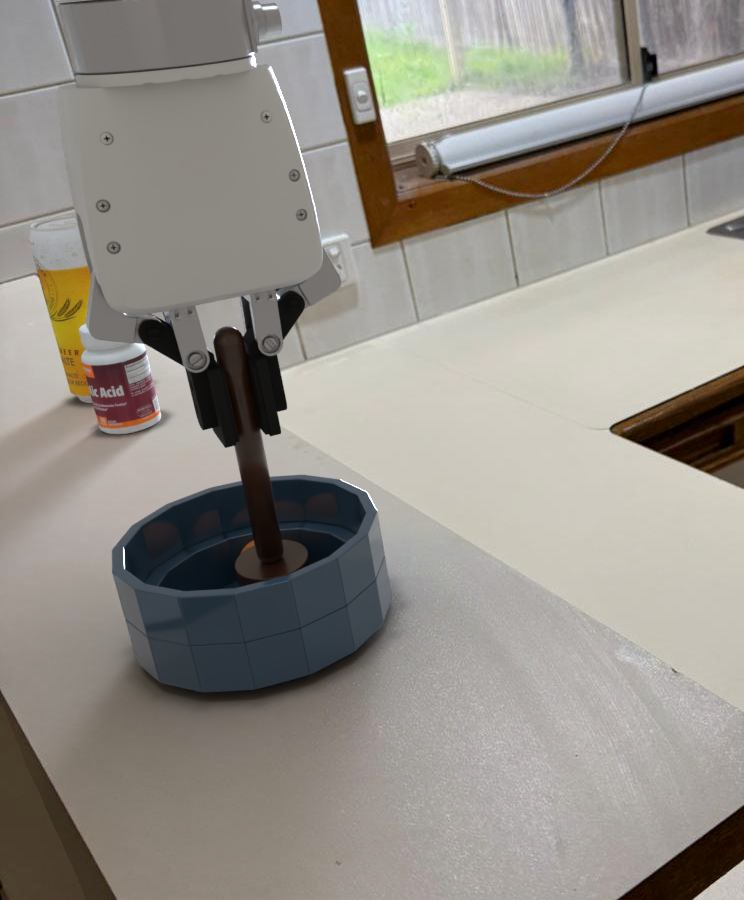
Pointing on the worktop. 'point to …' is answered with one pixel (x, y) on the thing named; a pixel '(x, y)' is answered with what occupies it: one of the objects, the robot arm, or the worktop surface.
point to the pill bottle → (119, 384)
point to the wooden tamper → (254, 473)
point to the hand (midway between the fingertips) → (246, 430)
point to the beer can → (64, 291)
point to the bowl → (251, 586)
